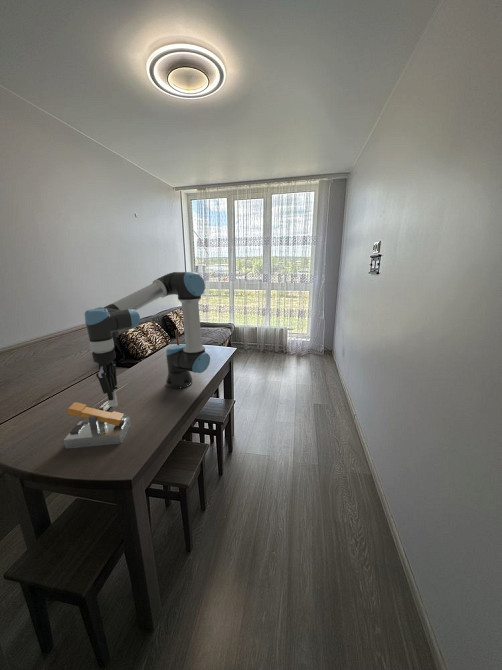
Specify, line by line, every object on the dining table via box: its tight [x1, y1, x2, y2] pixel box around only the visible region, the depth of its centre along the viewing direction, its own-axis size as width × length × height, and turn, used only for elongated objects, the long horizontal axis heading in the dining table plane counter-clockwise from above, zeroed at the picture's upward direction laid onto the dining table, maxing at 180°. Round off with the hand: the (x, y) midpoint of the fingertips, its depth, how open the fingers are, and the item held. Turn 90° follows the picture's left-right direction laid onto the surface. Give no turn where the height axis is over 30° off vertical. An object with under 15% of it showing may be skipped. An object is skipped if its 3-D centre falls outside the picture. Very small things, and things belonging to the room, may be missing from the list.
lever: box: [66, 401, 125, 426], centre depth 101 cm, size 19×5×3 cm, turn 98°
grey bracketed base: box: [63, 406, 132, 450], centre depth 102 cm, size 20×12×11 cm, turn 98°
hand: (113, 405), depth 101 cm, fingers closed
